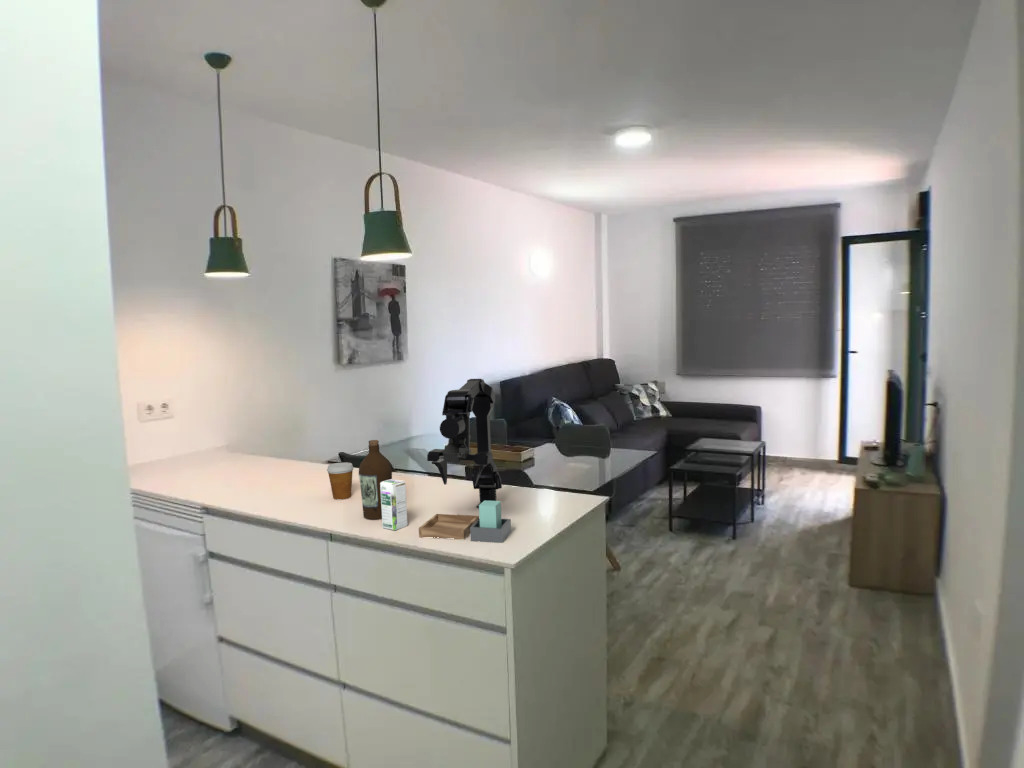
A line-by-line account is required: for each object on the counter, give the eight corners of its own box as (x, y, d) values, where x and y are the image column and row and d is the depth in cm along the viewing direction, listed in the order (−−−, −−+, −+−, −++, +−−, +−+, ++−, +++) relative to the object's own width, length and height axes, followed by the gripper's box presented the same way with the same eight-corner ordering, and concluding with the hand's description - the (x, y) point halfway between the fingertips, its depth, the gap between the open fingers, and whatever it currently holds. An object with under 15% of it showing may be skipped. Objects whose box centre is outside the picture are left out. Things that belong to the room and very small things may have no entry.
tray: (437, 522, 211) (436, 513, 210) (479, 524, 207) (479, 515, 206) (419, 537, 197) (418, 528, 197) (464, 539, 193) (463, 530, 193)
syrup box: (381, 528, 207) (378, 482, 206) (395, 522, 212) (392, 478, 211) (395, 531, 204) (392, 484, 202) (408, 525, 209) (405, 479, 207)
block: (485, 533, 198) (484, 500, 197) (502, 534, 197) (500, 501, 196) (480, 539, 194) (478, 505, 193) (497, 540, 192) (495, 505, 191)
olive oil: (376, 509, 228) (371, 436, 225) (401, 512, 223) (396, 438, 220) (354, 518, 219) (349, 442, 216) (380, 522, 213) (375, 444, 211)
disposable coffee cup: (323, 498, 245) (321, 465, 244) (346, 492, 252) (344, 461, 251) (337, 502, 239) (335, 469, 237) (360, 496, 245) (358, 464, 244)
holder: (481, 530, 201) (480, 517, 201) (511, 532, 199) (510, 518, 198) (470, 541, 192) (470, 527, 192) (502, 542, 190) (501, 529, 189)
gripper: (419, 435, 192) (419, 489, 193) (481, 439, 187) (481, 494, 188) (434, 430, 203) (434, 480, 204) (493, 433, 198) (493, 485, 199)
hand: (459, 485), depth 199 cm, fingers open, 9 cm apart
